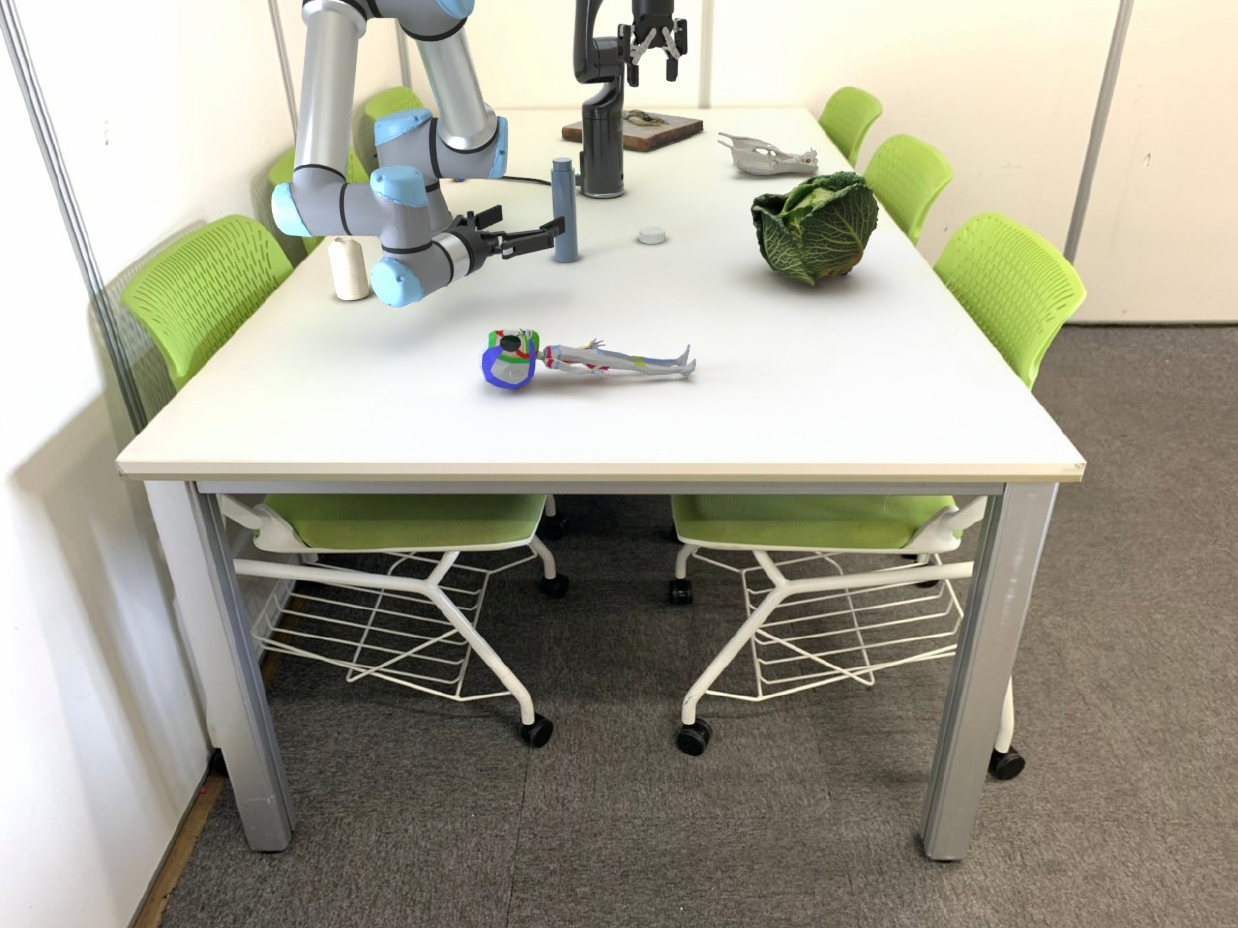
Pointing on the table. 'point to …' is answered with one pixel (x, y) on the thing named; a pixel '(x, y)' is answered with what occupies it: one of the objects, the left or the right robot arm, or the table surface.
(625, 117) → the plaque
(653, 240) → the lid
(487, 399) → the table surface
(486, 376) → the toy
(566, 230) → the blue slim bottle
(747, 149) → the anatomical model
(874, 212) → the vegetable
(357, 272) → the candle
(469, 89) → the left robot arm
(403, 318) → the table surface
